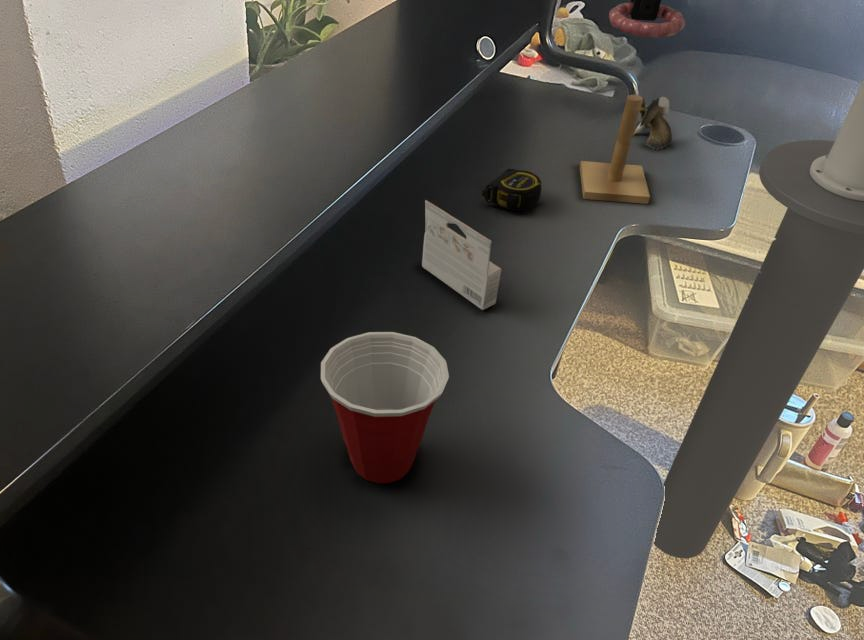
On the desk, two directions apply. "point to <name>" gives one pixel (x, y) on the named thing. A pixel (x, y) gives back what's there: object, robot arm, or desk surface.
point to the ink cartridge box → (459, 258)
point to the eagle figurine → (656, 123)
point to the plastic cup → (383, 398)
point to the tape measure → (514, 190)
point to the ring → (644, 29)
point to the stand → (617, 166)
